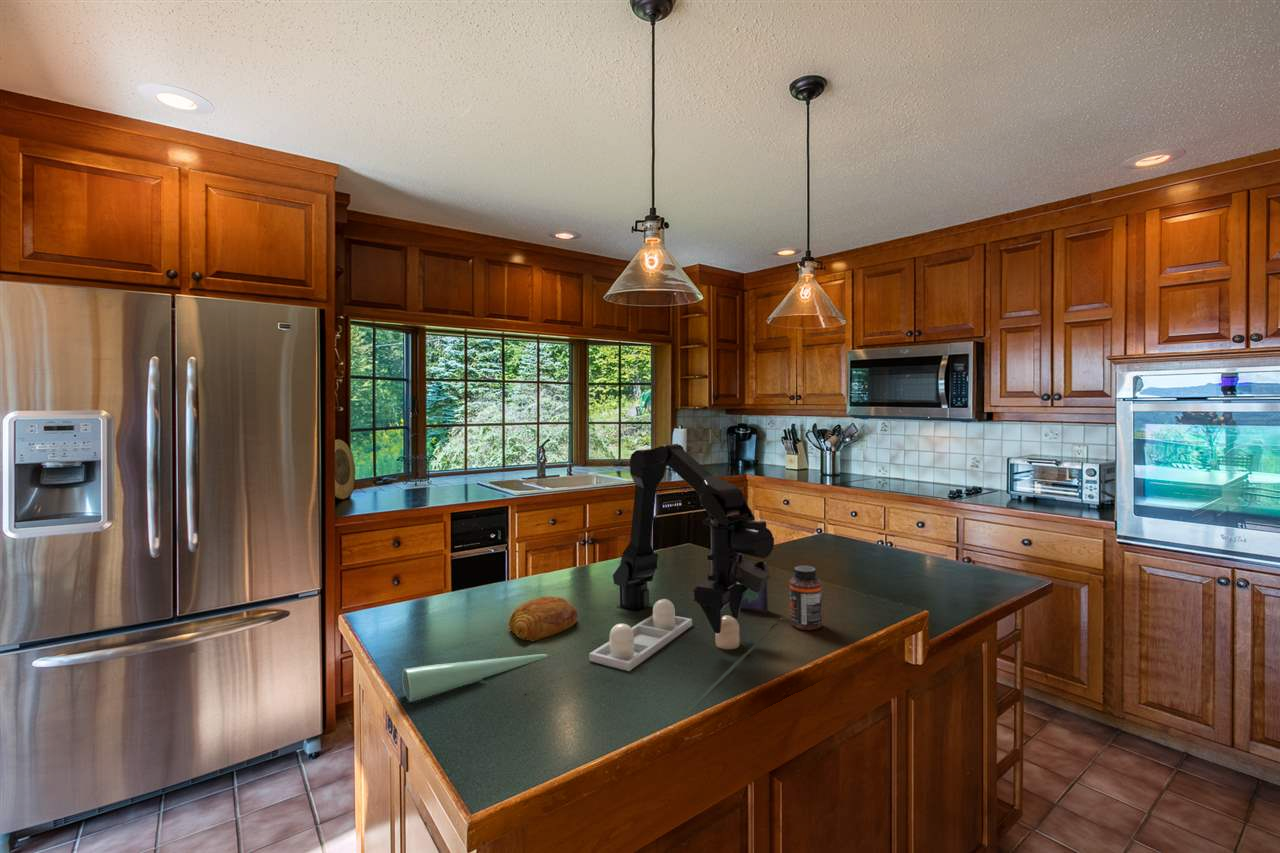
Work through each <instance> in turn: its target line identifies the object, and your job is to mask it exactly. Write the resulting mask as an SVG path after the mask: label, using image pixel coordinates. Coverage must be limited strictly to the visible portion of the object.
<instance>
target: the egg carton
mask: <svg viewBox="0 0 1280 853" xmlns="http://www.w3.org/2000/svg"><path fill="white" fill-rule="evenodd" d="M692 626H693V618H689V617H683V616H677V615H675V628H674V629H673V630H671V631H669V630H664V629H659V628H654V627H653V614H651V615H650V616H648V617H647V618H645V619H643V620H642V621H640V622H638V623H637V624H636V625H633V626H632V627H631V628H632V630H633V633H634V655H635V656H634V657H633V658H631V659H630V660H628V661H626V660H622V659H618V658H614V657H610V642H609V641H607V642H606V643H604V644H602V645H601V646H599V647H598V648H596V649H594V650H592V651H591V652H590V653H589V654H588V657H589V660H588V661H589V662H592V663H596V664H600V665H603V666H607V667H612V668H615V669H619V670H623V671H627V672H631V670H633V669H634V668H636V667H637V666H639V665H640V664H641V663H643V662H645V660H647V659H648V658H650V657H651V656H652V655H654V654H656V653H657V652H658V651H659V650H660V649H662V648H663V647H665V646H666V645H667V644H669V643H670V642H671V641H673V640H675V639H676V638H677V637H679V636H680V635H681V634H683V633H684V632H685V631H686V630H688V629H690V628H692Z"/></svg>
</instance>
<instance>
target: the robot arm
mask: <svg viewBox="0 0 1280 853" xmlns="http://www.w3.org/2000/svg"><path fill="white" fill-rule="evenodd" d="M667 467H670V469H672V470H673V472H675V473H676V474H677V475H678V476H679V477H680V478H681V479H682V480H683V481H684V482H685V483H687V484H688V486H689V487H691V488H692V489H693V490H694V491H695V492H696V494H697V495H698V499H699V503H700V504H701V505H702V507H703V509H704V510H705V512H707V513H708V516H707V517H706V518H705V519H704V520H702V523H703V525H706V526H710V553H708V554H707V561H711V562H710V563H711V565H710V566H711V573H709V574H708V575H707V580H708V581H713V582H708V581H703V582H702V583H699V584H698V585H697V586H695V587H694V589H692V600H693V601H694V602H696V604H699V606H700V607H701V610H702V611H703V613H704V615H705V616H706V618H707V620H708V622H709V625H710V626H711V628H712V630H713V632H714V633H718V634H719V633H720V631H721V625H722V616H724V614H723V613H724V608H725V607H726V606H727V605H728V607H729V610H730V613H731V616H732V617H733V618H735V619H736V620H737V619H739V616H740V613H741V609H742V608H741V606H742V602H743V598H744V595H745V592H746V591H747V590H748V589H750V590H751V591H753V592H760V590H761V589H763V588H764V587H765V584H766V581H767V582H768V579H770V578H771V577H770V576H771V575H770V570H769V566H768V562H767V561H764V560H763V559H766V558H768V557H770V555H771V553H772V551H773V549H774V547H775V546H774V545H775V537H774V536H773V532H772V530H770V529H769V528H768V527H767V522H766V521H763V520H756V518H755V516H754V513H753V511H752V510H751V508H750V507H749V504H748V503H747V501H746V499H745V497H744V492H743V491H742V490H741V488H739V487H738V486H737V485H735V484H733V483H731V482H729V481H727V480H725V479H721V478H718V477H716V476H715V475H713V474H712V473H711V472H710V471H709V470H708V469H706V468H705V467H704V466H703V465H701V463H699V462H698V461H697V460H696V459H695V458H693V456H692V455H690V454H689V453H688V452H687V451H686V450H684V447H683V446H682V445H681V444H679V443H670V444H662V445H661V446H658V447H655V448H650V449H649V448H648V449H637V450H635V451H634V452H633V453H631V455H630V458H629V474H630V476H631V478H632V481H633V482H634V485H635V488H634V498H633V508H632V519H631V527H630V528H631V530H630V540H629V543H628V545H627V546H626V547H625V549H624V550H623V552H622V555H621V560H620V564H619V565H618V567H617V569H616V570H615V572H614V573H613V574H612V580H613V584H614V585H616V586H619V605H617V606H616V608H617V609H620V610H621V609H622V610H628V611H631V612H640V611H642V610H644V609H646V608H648V607H649V606H650V605H652V603H651V602H650V589H649V588H648V586H649V584H648V583H650V582H654V581H653V579H654V576H655V572H656V570H657V569H658V559H659V553H657V552H655V551H654V548H653V547H652V543H651V542H652V533H653V525H654V524H653V523H654V515H655V507H656V506H655V505H656V496H657V487H658V486H659V484H661V482H662V480H663V478H664V477H665V473H666V470H667ZM745 556H750V557H755V558H759V559H760V560H759V561H757V562H756V563H755V564H754V562H748V561H746V558H745Z"/></svg>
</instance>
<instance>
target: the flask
mask: <svg viewBox="0 0 1280 853" xmlns="http://www.w3.org/2000/svg"><path fill="white" fill-rule="evenodd" d="M768 601H769V600H768V580H767V581H766V584H765V587H764V588H763V589H761V590H760V592H753V591H751V590H750V589H748V590H747V591H746V592H745V595H744V598H743V602H742V606H741V609H743V610H750V611H755V612H760V611H767V612H768V609H769V608H768V607H769V606H768V603H769V602H768Z"/></svg>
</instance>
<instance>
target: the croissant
mask: <svg viewBox="0 0 1280 853" xmlns="http://www.w3.org/2000/svg"><path fill="white" fill-rule="evenodd" d="M577 621H578V612H577V609H576V607H575V606H574V605H573V604H571V603H570V602H568V600H566V599H565V598H562V597H558V596H557V597H556V596H541V597H538V598H534V599H531V600H529V601H527V602H526V601H525V602H524V603H522V604H520V605H519V606H518V607H516V608H515V609H514V610H513V612H512V615H511V616H510V618H509V621H508V626H509V628H508V629H509V631H510V630H511V631H512V632H514V633H515V634H514V635H515V636H516V635H517V636H516V637H517V638H520V639H521V638H522V639H521V640H524V639H526V640H538V641H540V640H539V639H541V640H543V639H545V638H549V637H551V636H554V635H556V634H558V633H561V632H563V631H566V630H568V629H570V628H571V627H573V626H575V624H576V623H577ZM511 631H510V632H511ZM512 632H511V633H512ZM542 638H543V639H542ZM526 640H525V641H526Z"/></svg>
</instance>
